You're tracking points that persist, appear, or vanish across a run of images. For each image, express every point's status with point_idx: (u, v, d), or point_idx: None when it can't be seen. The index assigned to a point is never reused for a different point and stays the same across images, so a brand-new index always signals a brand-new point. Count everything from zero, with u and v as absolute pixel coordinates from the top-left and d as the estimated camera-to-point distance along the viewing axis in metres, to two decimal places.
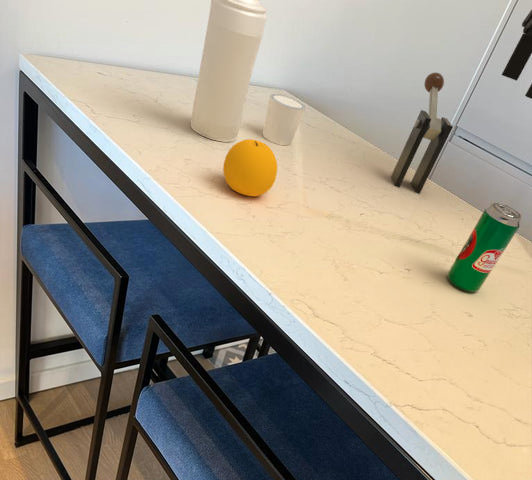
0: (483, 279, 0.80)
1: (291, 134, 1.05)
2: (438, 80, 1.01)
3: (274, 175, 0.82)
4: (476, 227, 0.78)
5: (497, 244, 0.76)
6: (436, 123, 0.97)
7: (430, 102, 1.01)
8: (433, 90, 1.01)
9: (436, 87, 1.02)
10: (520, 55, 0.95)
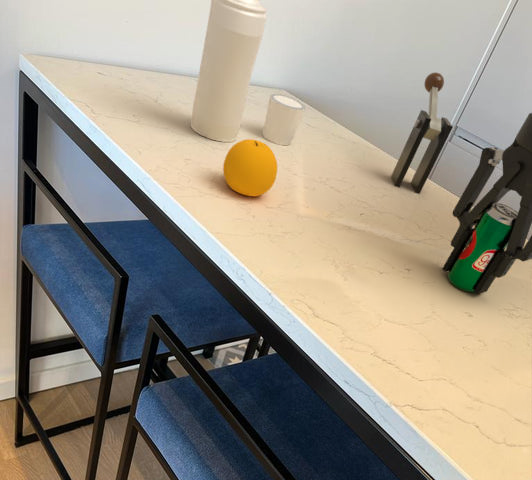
0: None
1: (291, 134, 1.05)
2: (438, 80, 1.01)
3: (274, 175, 0.82)
4: (476, 227, 0.78)
5: (497, 244, 0.76)
6: (436, 123, 0.97)
7: (430, 102, 1.01)
8: (433, 90, 1.01)
9: (436, 87, 1.02)
10: None
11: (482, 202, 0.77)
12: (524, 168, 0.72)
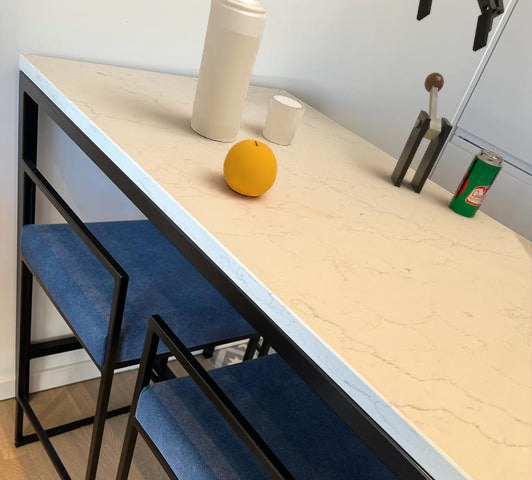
0: (474, 211, 1.01)
1: (291, 134, 1.05)
2: (438, 80, 1.01)
3: (274, 175, 0.82)
4: (468, 169, 0.99)
5: (485, 181, 0.98)
6: (436, 123, 0.97)
7: (430, 102, 1.01)
8: (433, 90, 1.01)
9: (436, 87, 1.02)
10: (480, 28, 1.05)
11: None
12: None
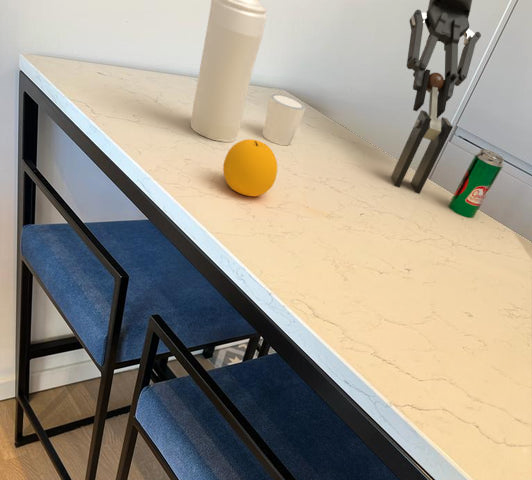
0: (474, 211, 1.01)
1: (291, 134, 1.05)
2: (438, 80, 1.01)
3: (274, 175, 0.82)
4: (468, 169, 0.99)
5: (485, 181, 0.98)
6: (436, 123, 0.97)
7: (430, 102, 1.01)
8: (433, 90, 1.01)
9: (436, 87, 1.02)
10: (440, 95, 1.03)
11: None
12: None
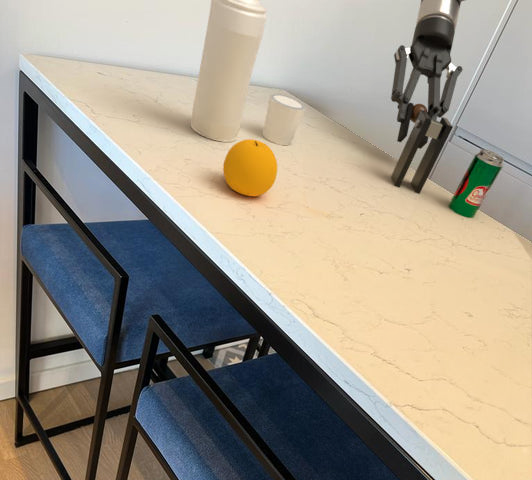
0: (474, 211, 1.01)
1: (291, 134, 1.05)
2: (422, 107, 1.06)
3: (274, 175, 0.82)
4: (468, 169, 0.99)
5: (485, 181, 0.98)
6: (435, 121, 0.98)
7: None
8: None
9: None
10: None
11: None
12: None
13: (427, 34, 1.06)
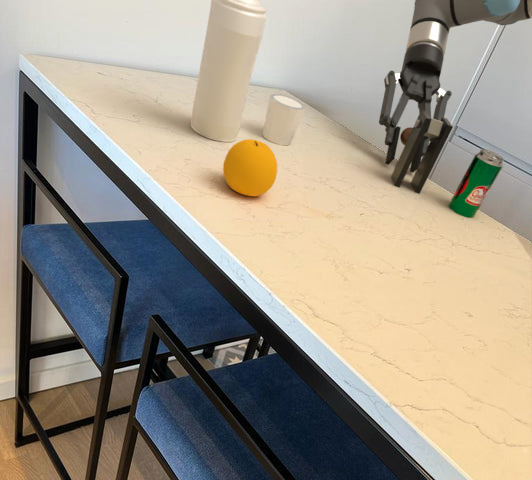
0: (474, 211, 1.01)
1: (291, 134, 1.05)
2: None
3: (274, 175, 0.82)
4: (468, 169, 0.99)
5: (485, 181, 0.98)
6: None
7: None
8: None
9: None
10: None
11: None
12: None
13: (416, 61, 1.09)
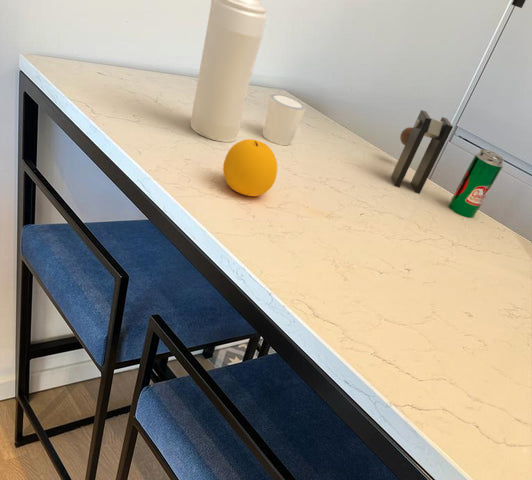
0: (474, 211, 1.01)
1: (291, 134, 1.05)
2: None
3: (274, 175, 0.82)
4: (468, 169, 0.99)
5: (485, 181, 0.98)
6: None
7: None
8: None
9: None
10: None
11: None
12: None
13: None
